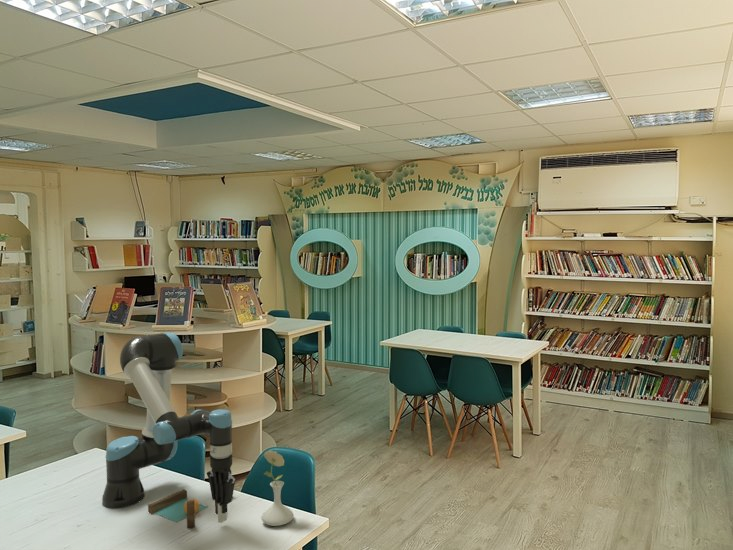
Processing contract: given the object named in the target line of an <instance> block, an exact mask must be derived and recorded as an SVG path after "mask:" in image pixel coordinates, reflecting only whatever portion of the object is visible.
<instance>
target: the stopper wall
mask: <svg viewBox="0 0 733 550" xmlns="http://www.w3.org/2000/svg"><path fill="white" fill-rule="evenodd" d="M185 498H186V499H188V490H187V489H181V490H179V491H176V492H174V493H172V494H170V495H168V496H165V497H163V498H161V499H158V500H155V501H153V502H151V503H148V505H147V513H148V512H149V513H148V514H150V513H151V514H150V515H152V513H153V514H155V513H154V512H156V511H158V510H160V509H162V508H165V507H167V506H169V505H171V504H174V503H176V502H178V501H180V500H182V499H185Z"/></svg>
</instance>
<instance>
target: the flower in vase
mask: <svg viewBox="0 0 733 550" xmlns="http://www.w3.org/2000/svg"><path fill="white" fill-rule="evenodd" d="M263 457H264V458H265V460H266V461H267V462H268V463H269V464H271V467H270V472H269V471H265V472H264V473H263V475H264V476H267V477H269V478H272V480H273V481H271V482H270V483H269V486H270V487H271V488H272V491H273V498H274V499H273V503H272V505H270V506H269V507H268V508H267V509H265V511H264V512H263V513H262V515H261V521H262V522H263V523H264V524H265V525H268V526H273V527H274V526H275V527H277V526H279V527H280V526H283V525H287V524H289V523H290V522H292V520H293V519H294V512H293V511H292V510H291V509H290V507H288V506H285V505H284V504H283V503H282V499H281V494H282V493H281V492H282V488H283V486H285V482H284V481H282V480H280V479H282V478H283V475H284V474H279V475H277V477H276V478H275V477H274V475H273V466H274V467H282V466H285V459H284V458H283V457H284V456H283V455H281V454H280V453H278V452H277V451H273V450H270V449H269V450H268V451H265V452H264V456H263Z"/></svg>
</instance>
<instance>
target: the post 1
mask: <svg viewBox="0 0 733 550" xmlns="http://www.w3.org/2000/svg"><path fill="white" fill-rule="evenodd" d="M188 500H189V501H187V518H186V528H187V529H190V530H192V529H194V528H195V527H196V519H195V518H196V515H195V504H194V500H190V499H188Z"/></svg>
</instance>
